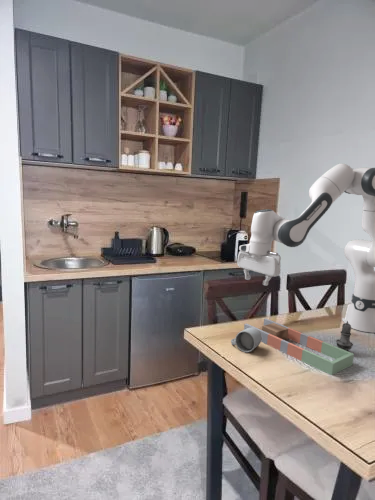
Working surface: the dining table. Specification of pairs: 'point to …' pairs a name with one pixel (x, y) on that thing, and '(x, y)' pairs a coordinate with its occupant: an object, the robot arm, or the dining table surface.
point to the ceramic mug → (247, 339)
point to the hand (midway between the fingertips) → (256, 282)
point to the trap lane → (323, 364)
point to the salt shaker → (345, 338)
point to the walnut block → (276, 330)
